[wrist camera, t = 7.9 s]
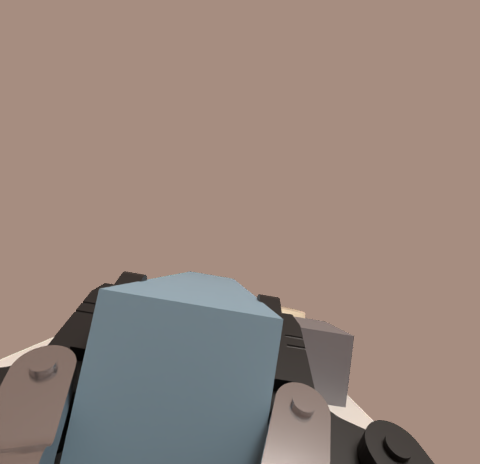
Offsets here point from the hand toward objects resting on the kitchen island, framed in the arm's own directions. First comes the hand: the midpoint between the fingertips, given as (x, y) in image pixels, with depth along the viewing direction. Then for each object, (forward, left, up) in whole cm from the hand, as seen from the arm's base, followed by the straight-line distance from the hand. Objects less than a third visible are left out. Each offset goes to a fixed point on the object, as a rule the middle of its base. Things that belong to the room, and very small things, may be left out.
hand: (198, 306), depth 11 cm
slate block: (0, +7, -3) cm, 7 cm away
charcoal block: (+6, +10, -5) cm, 13 cm away
